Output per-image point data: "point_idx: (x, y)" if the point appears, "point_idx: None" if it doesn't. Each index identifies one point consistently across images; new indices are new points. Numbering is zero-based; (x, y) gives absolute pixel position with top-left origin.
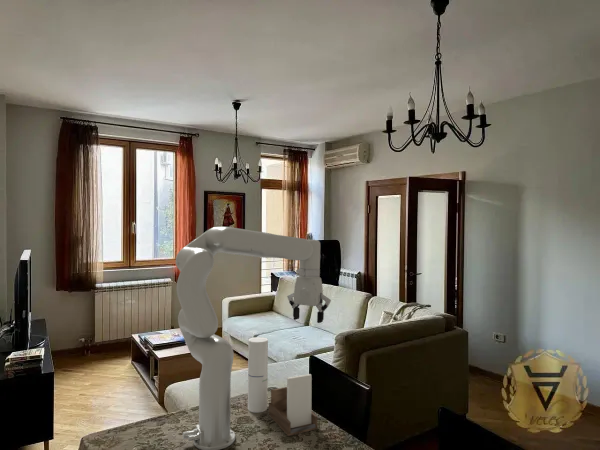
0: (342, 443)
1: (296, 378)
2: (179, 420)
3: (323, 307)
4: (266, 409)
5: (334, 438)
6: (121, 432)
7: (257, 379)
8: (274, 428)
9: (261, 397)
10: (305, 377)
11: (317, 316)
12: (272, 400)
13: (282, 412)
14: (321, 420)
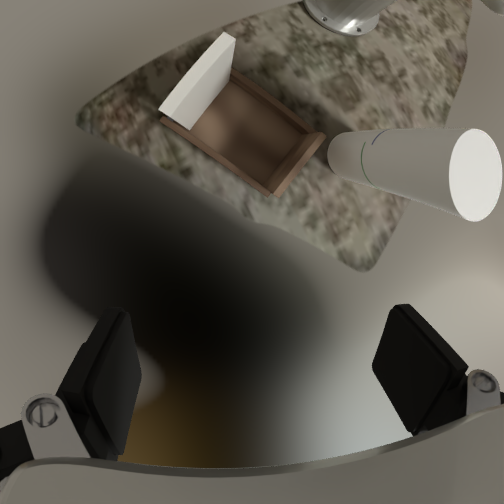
0: (95, 100)
1: (202, 56)
2: (437, 59)
3: (11, 446)
4: (327, 157)
5: (116, 108)
6: (464, 15)
7: (379, 131)
8: (260, 79)
9: (346, 139)
10: (176, 87)
11: (106, 352)
12: (310, 135)
13: (280, 150)
14: (175, 167)
